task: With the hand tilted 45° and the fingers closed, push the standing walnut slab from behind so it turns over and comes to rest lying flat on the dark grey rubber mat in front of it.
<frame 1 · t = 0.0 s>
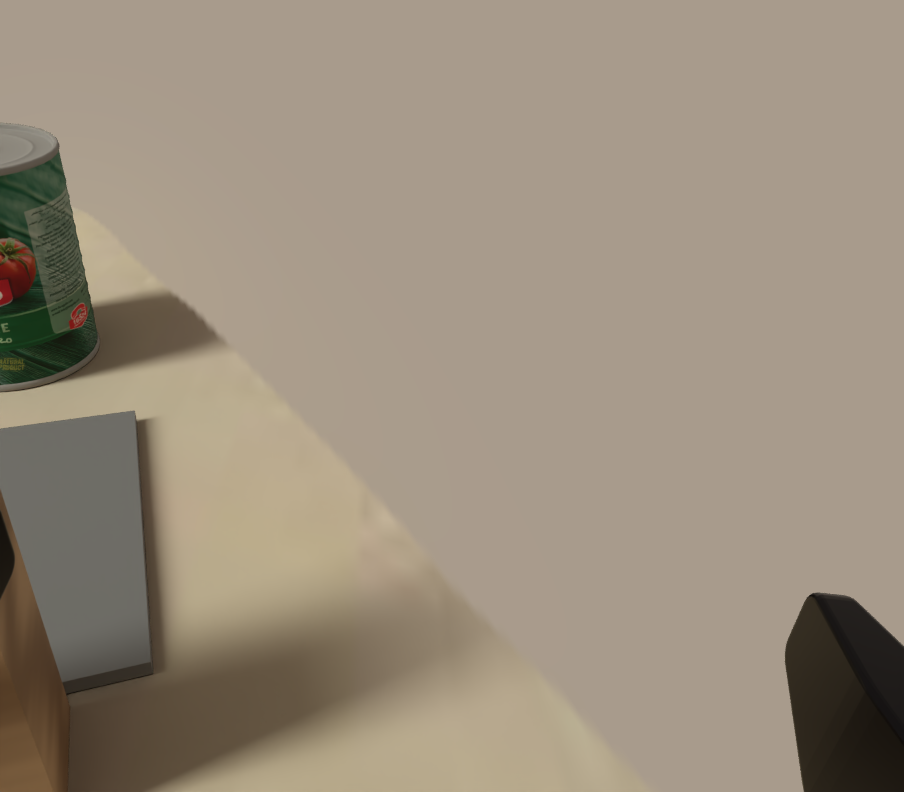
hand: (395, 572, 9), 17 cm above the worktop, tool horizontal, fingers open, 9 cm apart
canned tomato: (21, 355, 43), on the worktop
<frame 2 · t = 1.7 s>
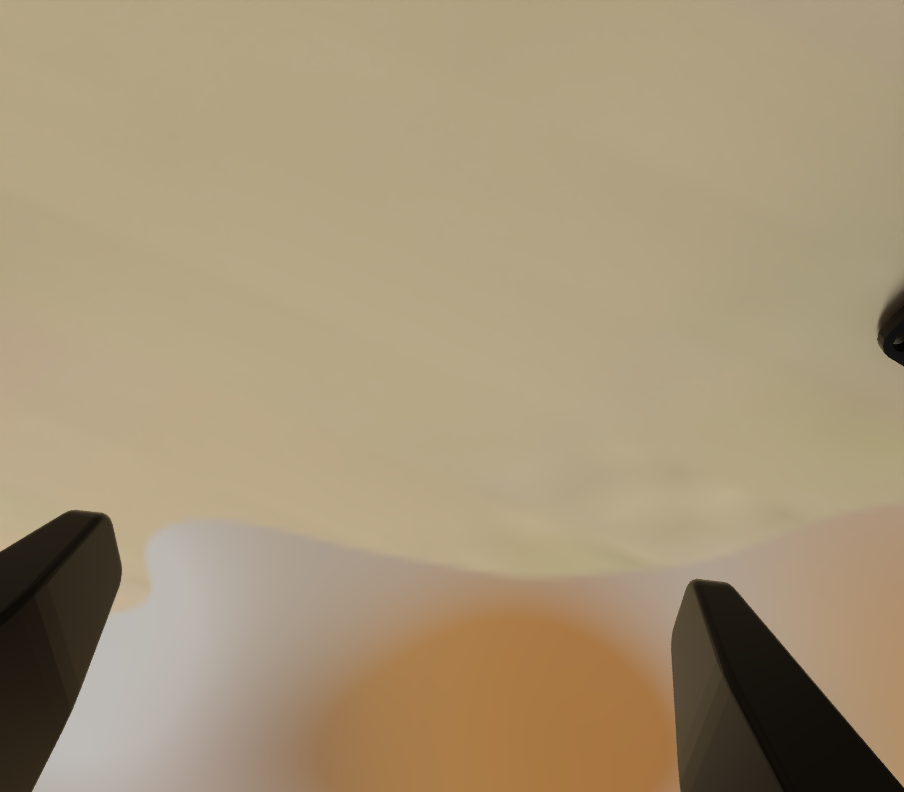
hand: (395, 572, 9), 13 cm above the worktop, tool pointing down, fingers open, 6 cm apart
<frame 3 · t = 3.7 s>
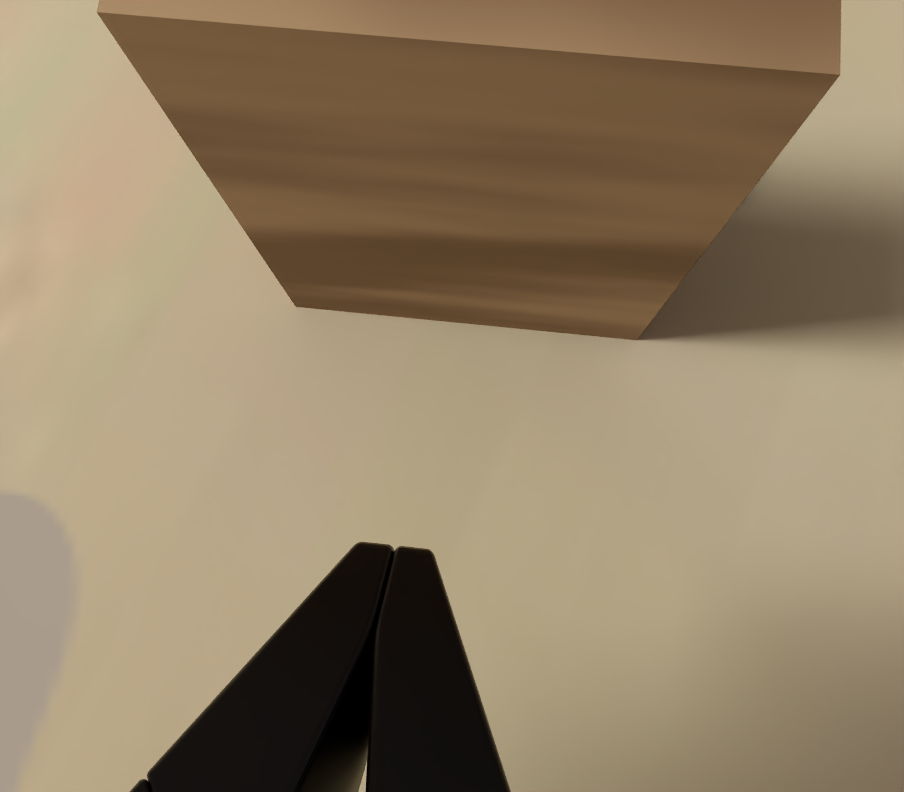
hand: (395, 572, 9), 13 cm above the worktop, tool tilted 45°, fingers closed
walnut slab: (471, 258, 24), on the worktop
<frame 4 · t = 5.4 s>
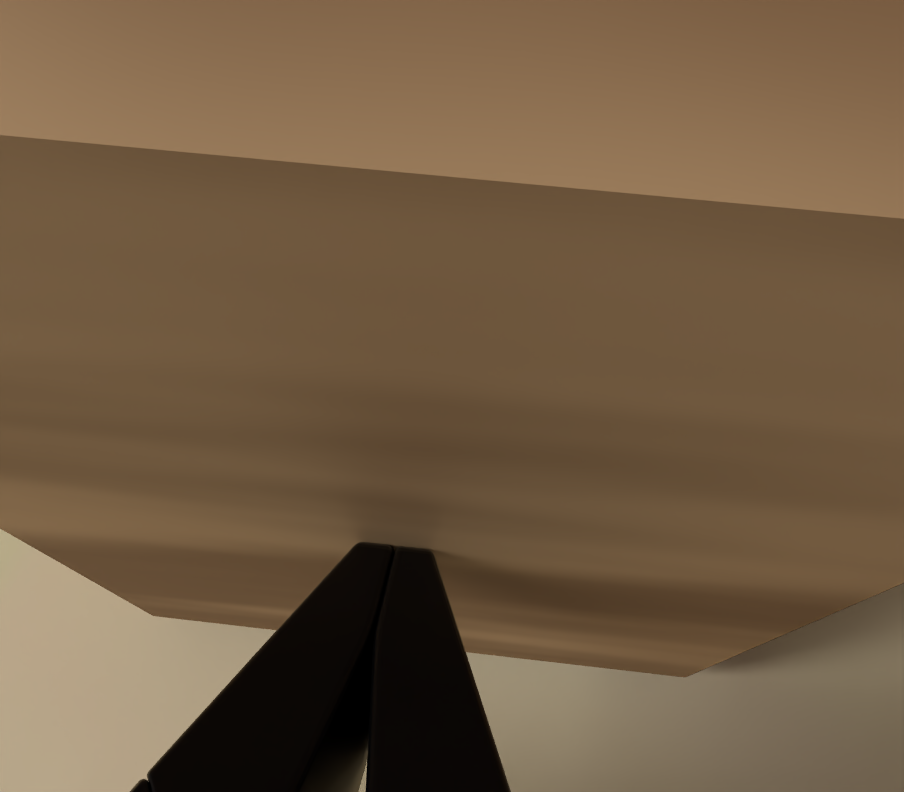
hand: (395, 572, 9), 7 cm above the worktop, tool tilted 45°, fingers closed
walnut slab: (428, 541, 16), on the worktop, tilted 13°
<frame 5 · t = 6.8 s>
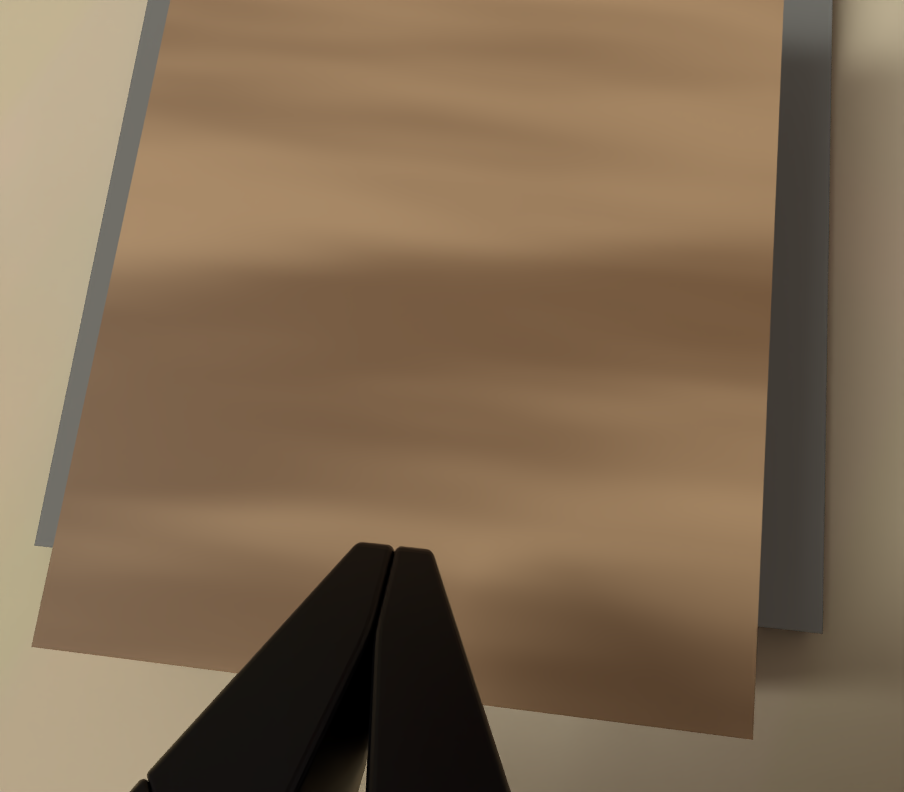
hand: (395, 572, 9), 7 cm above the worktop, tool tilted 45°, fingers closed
mat: (462, 231, 17), on the worktop
walnut slab: (397, 672, 13), point 3 cm above the worktop, tilted 90°, touching mat
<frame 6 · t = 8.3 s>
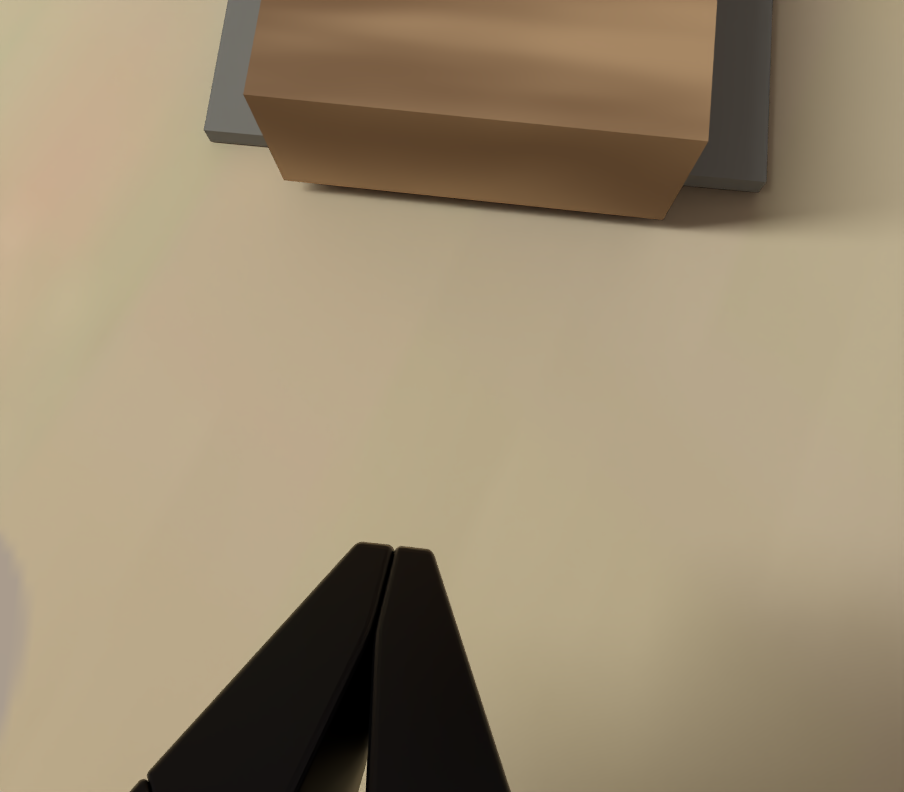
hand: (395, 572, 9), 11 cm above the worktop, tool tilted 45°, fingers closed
walnut slab: (472, 162, 19), point 3 cm above the worktop, tilted 90°, touching mat
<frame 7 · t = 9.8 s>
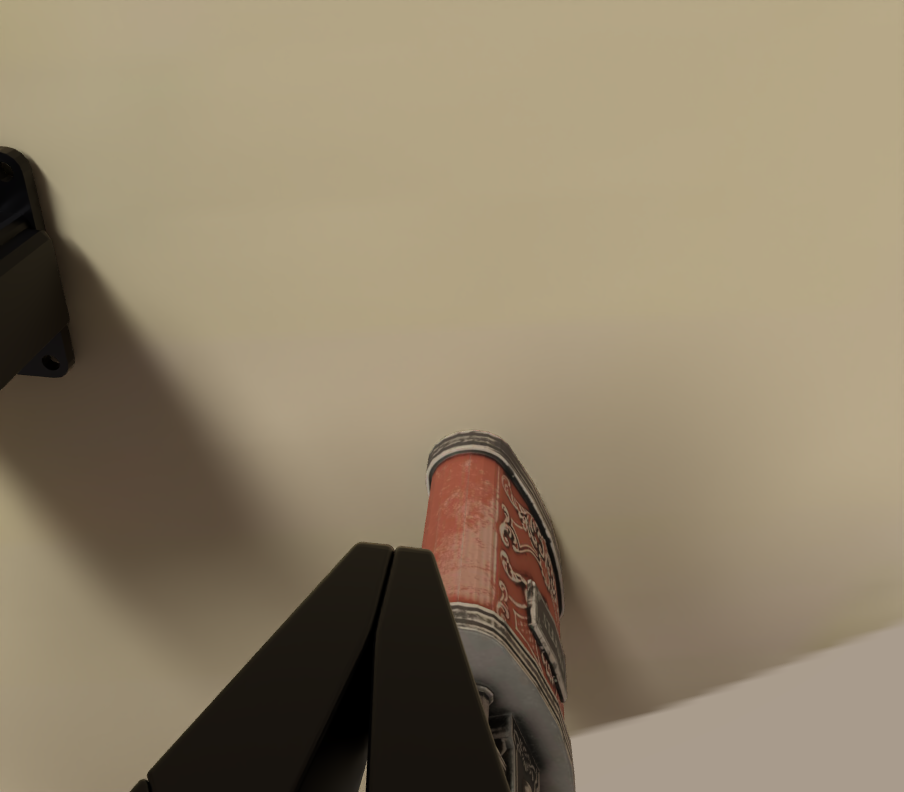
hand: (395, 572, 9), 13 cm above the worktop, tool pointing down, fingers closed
red patterned tin: (499, 524, 26), on the worktop
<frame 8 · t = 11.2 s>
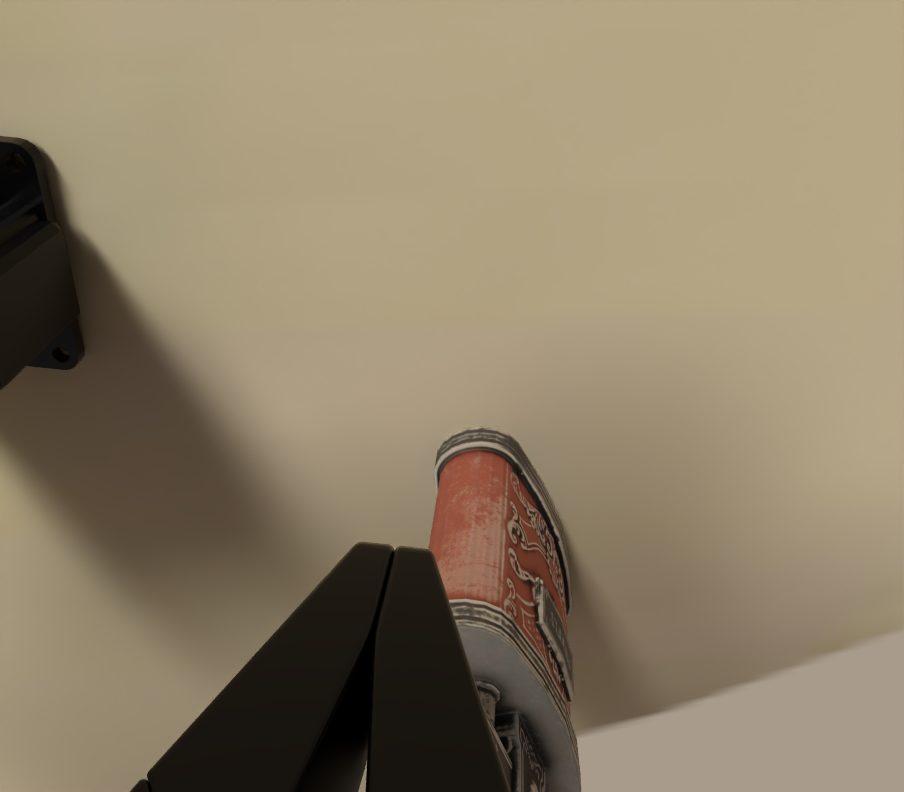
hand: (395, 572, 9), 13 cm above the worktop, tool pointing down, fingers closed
red patterned tin: (507, 522, 26), on the worktop
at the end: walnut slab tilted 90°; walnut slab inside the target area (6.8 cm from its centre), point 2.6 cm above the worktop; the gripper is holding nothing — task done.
